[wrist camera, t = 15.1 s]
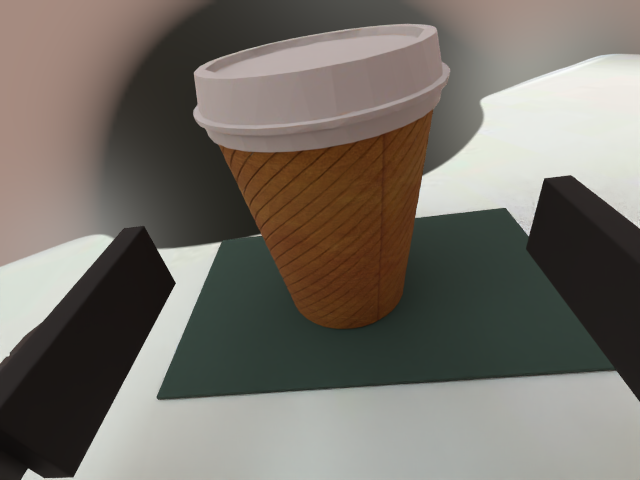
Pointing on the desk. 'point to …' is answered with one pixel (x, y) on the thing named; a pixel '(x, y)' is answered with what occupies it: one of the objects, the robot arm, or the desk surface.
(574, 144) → the desk surface
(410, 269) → the desk mat
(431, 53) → the disposable coffee cup
